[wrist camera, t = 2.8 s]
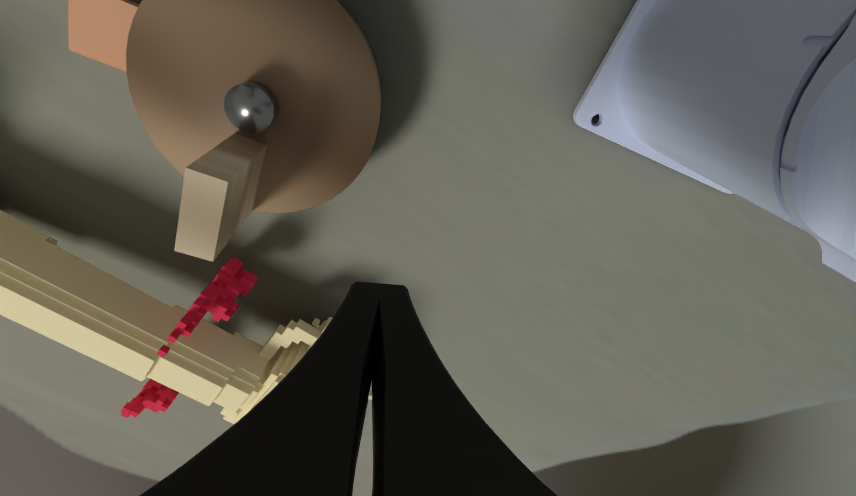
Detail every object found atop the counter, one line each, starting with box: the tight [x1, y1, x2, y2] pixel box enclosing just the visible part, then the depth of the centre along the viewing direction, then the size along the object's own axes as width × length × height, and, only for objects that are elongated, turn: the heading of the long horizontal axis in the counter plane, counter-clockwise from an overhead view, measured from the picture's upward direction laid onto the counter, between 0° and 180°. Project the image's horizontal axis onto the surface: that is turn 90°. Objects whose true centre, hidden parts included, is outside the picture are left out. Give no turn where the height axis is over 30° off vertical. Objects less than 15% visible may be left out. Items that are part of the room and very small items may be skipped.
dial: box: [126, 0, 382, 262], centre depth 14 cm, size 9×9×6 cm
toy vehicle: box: [0, 210, 372, 424], centre depth 18 cm, size 10×9×25 cm
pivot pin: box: [224, 81, 279, 133], centre depth 14 cm, size 2×2×1 cm
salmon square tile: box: [68, 0, 140, 71], centre depth 15 cm, size 2×2×1 cm
